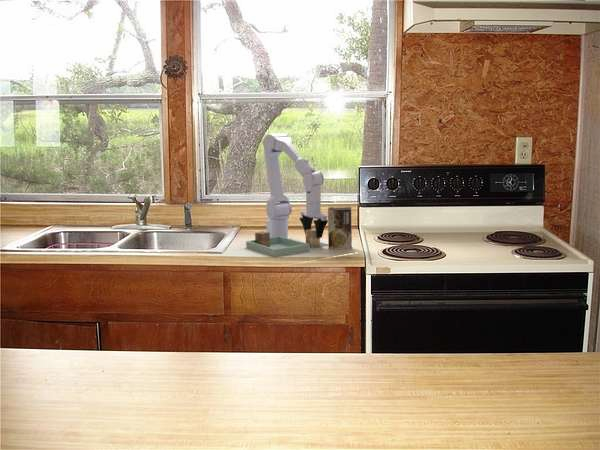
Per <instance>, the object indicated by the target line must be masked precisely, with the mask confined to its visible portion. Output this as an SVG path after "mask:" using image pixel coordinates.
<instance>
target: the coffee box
mask: <svg viewBox="0 0 600 450" xmlns="http://www.w3.org/2000/svg"><path fill="white" fill-rule="evenodd" d="M327 220H328V222H327V227H328V229H327V231H328V233H327V235H328V236H327V237H328V238H327V239H328V240H327V241H328V243H327V244H328V246H327V248H328V250H352V249H353V245H352V244H353V242H352V240H353V239H352V238H353V237H352V207H351V206H333V207H332V206H328V208H327Z"/></svg>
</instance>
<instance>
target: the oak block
mask: <svg viewBox="0 0 600 450" xmlns="http://www.w3.org/2000/svg"><path fill="white" fill-rule="evenodd" d="M320 242H321V238H317V236H316V228H311V229H309V230H306V235H305V243H307V244H310V246H317V245H320Z"/></svg>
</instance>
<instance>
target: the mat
mask: <svg viewBox="0 0 600 450" xmlns="http://www.w3.org/2000/svg"><path fill="white" fill-rule="evenodd" d="M323 247H328V243H325V242H321V241H320V245H317V246H310V249H317V248H318V249H319V248H323Z"/></svg>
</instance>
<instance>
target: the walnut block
mask: <svg viewBox="0 0 600 450" xmlns="http://www.w3.org/2000/svg"><path fill="white" fill-rule="evenodd" d="M254 238H255V239H254V240H255V243H257V244H260V245H263V246H267V247H270V232H266V231H264V230H263V231H256V232H254Z"/></svg>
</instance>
